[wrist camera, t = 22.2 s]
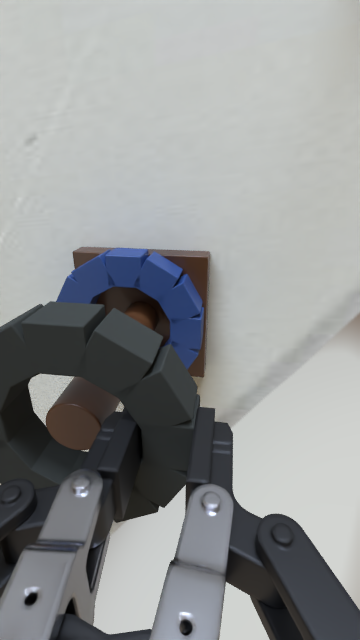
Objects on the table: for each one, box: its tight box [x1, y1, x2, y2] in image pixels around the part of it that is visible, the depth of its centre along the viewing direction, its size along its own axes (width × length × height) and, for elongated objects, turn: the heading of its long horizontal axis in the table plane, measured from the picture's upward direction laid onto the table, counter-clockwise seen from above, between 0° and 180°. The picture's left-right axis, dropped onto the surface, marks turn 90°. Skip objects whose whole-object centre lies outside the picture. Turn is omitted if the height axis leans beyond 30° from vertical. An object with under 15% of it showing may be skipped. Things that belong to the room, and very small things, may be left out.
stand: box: [46, 247, 210, 450], centre depth 19 cm, size 9×9×12 cm
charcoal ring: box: [0, 302, 200, 523], centre depth 14 cm, size 10×10×2 cm
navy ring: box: [56, 248, 204, 370], centre depth 22 cm, size 10×10×2 cm
